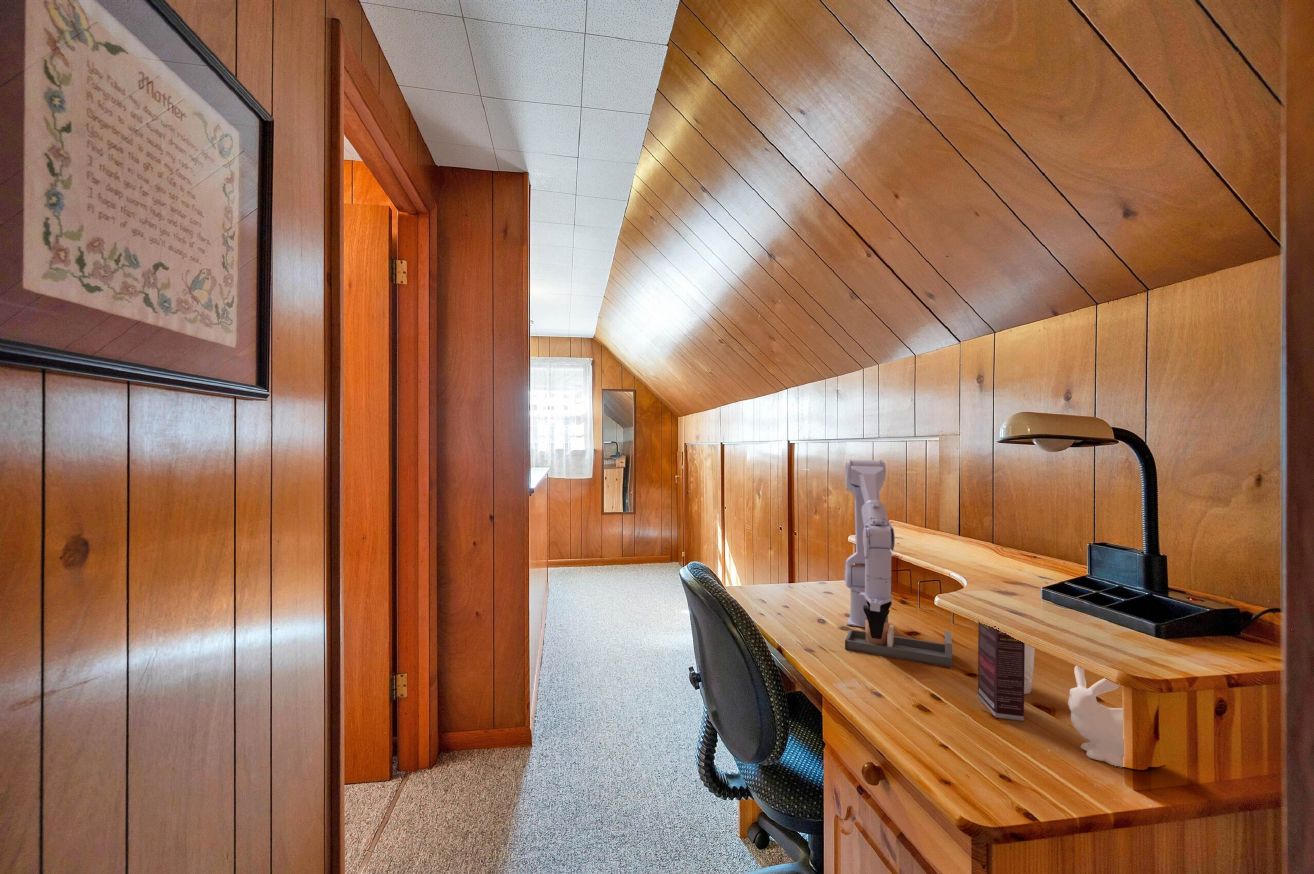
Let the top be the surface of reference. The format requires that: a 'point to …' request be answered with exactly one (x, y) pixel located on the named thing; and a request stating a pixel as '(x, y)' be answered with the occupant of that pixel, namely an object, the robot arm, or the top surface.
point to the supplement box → (1001, 673)
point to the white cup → (1028, 668)
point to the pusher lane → (905, 648)
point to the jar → (873, 640)
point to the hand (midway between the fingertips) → (877, 634)
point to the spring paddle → (890, 636)
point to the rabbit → (1097, 720)
